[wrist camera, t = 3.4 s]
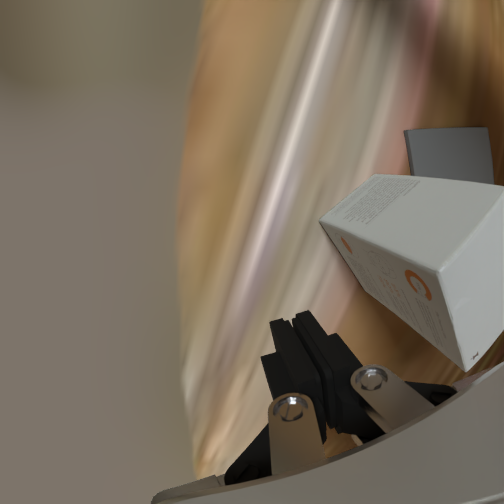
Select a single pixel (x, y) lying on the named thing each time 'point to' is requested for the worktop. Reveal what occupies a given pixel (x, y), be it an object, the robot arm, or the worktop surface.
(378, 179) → the small box
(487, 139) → the mat
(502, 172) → the worktop surface
